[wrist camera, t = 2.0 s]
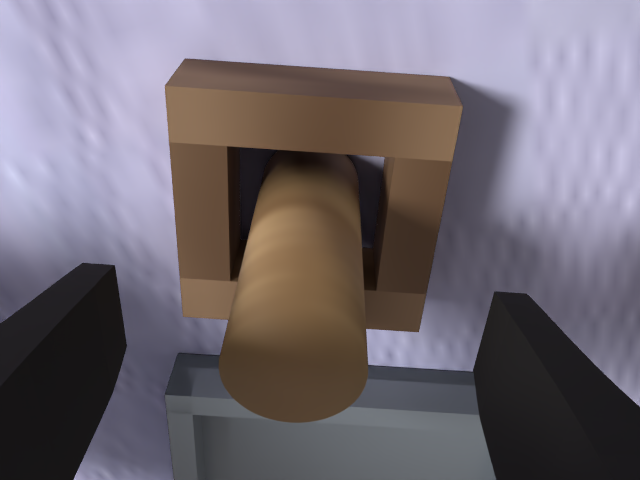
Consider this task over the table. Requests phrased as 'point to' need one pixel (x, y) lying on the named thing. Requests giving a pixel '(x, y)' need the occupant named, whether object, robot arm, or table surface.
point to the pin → (300, 294)
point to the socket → (311, 136)
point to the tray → (329, 430)
